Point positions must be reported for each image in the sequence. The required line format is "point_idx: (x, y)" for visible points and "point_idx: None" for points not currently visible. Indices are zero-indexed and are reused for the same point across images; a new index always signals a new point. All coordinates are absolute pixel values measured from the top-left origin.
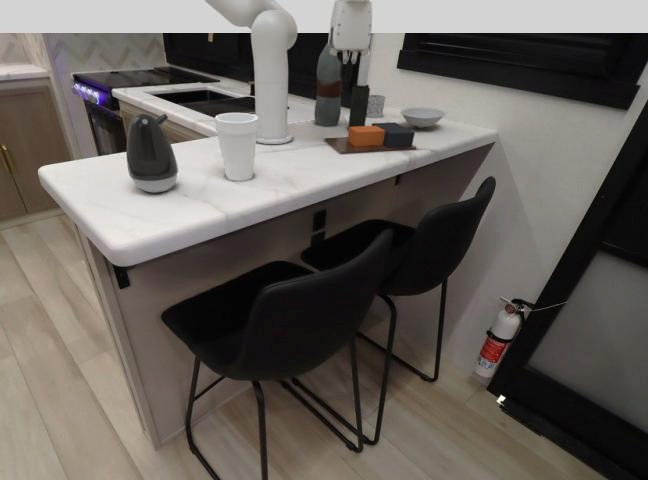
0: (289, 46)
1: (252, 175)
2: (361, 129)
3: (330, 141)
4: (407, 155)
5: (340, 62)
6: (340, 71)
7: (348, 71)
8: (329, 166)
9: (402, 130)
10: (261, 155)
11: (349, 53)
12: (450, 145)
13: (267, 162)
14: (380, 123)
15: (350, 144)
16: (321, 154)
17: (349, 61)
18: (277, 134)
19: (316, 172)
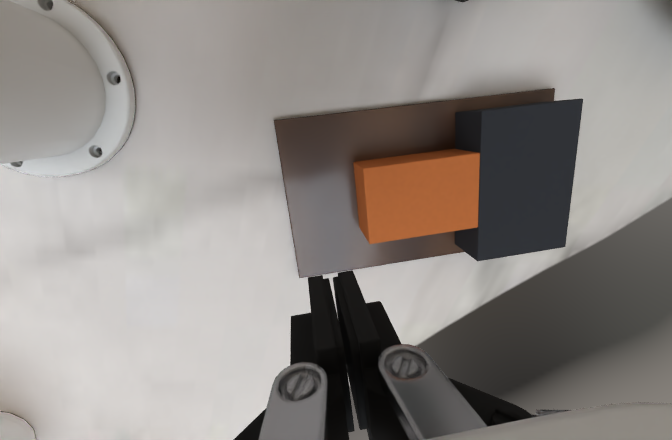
0: None
1: (33, 434)
2: (398, 210)
3: (288, 167)
4: (482, 287)
5: (284, 385)
6: (291, 341)
7: (350, 382)
8: (244, 368)
9: (538, 224)
10: (32, 288)
11: (414, 437)
12: (656, 201)
13: (63, 346)
14: (513, 116)
15: (350, 207)
16: (237, 279)
17: (371, 434)
18: (53, 155)
19: (204, 405)
